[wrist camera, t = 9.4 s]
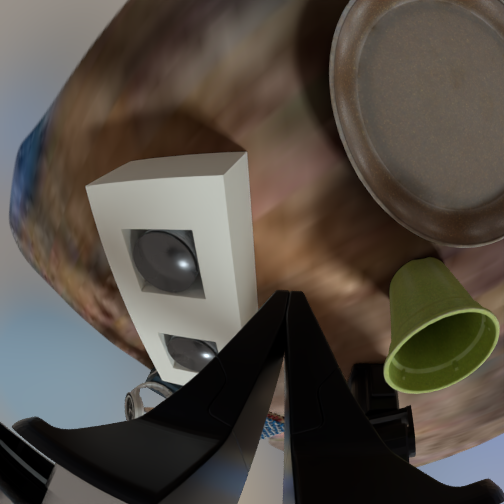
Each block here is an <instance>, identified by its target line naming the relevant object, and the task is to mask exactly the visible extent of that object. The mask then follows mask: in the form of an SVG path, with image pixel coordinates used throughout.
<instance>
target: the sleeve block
mask: <svg viewBox="0 0 504 504" xmlns="http://www.w3.org/2000/svg"><path fill="white" fill-rule="evenodd" d="M85 187H86V191H87V195H88V198H89V202H90V206H91V209H92V213H93V216H94V219H95V223H96V226H97V229H98V232H99V235H100V239H101V242H102V245H103V248H104V250H105V253H106V256H107V259H108V262H109V264H110V267H111V270H112V273H113V275H114V278H115V280H116V283H117V285H118V288H119V290H120V293H121V295H122V298H123V300H124V303H125V305H126V307H127V310H128V312H129V314H130V316H131V319H132V321H133V323H134V325H135V327H136V330H137V332H138V334H139V336H140V338H141V340H142V342H143V344H144V346H145V348H146V350H147V352H148V354H149V356H150V358H151V360H152V362H153V364H154V366H155V368H156V370H157V371H158V373H159V375H160V377H161V379H162V381H166V382H170V383H174V384H179V385H183V386H184V385H185V384H186V383H187V382H188V381H190V380H191V379H192V378H193V377H194V376H196V375H197V374H198V373H199V372H198V371H193V370H190V369H188V368H185V367H184V366H182V365H180V364H179V363H177V362H176V361H175V360H174V359H173V358H172V357H171V356H170V354H169V352H168V349H167V346H168V343H169V341H170V340H171V338H172V336H173V335H175V336H180V337H186V338H193V339H199V340H206V341H213V342H216V345H217V349H218V353H219V352H220V351H221V350H222V349H223V348H224V347H225V345H226V344H227V343H228V342H229V341H230V340H231V339H232V338H233V337H234V336H235V335H236V334H237V333H238V332H239V331H240V330H241V328H242V327H243V326H244V325H245V324H246V323H247V322H248V321H249V320H250V319H251V318H252V317H253V315H254V314H255V313H256V312H257V311H258V299H257V284H256V270H255V256H254V242H253V228H252V214H251V200H250V186H249V172H248V158H247V152H223V153H205V154H192V155H180V156H169V157H160V158H151V159H143V160H135V161H130V162H128V163H126V164H124V165H122V166H120V167H118V168H117V169H115V170H113V171H111V172H109V173H107V174H106V175H104V176H102V177H100V178H98V179H97V180H95V181H93V182H91V183H90V184H88V185H86V186H85ZM148 229H166V230H192V231H193V237H194V242H195V248H196V253H197V258H198V263H199V268H200V272H199V273H198V275H197V277H196V279H195V280H194V282H193V284H192V285H191V286H190V287H189V288H188V289H186V290H184V291H182V292H167V291H163V290H161V289H158V288H156V287H155V286H153V285H151V284H150V283H149V282H148V281H146V280H145V279H144V278H143V276H142V275H141V274H140V272H139V271H138V269H137V267H136V265H135V262H134V258H133V249H134V246H135V244H136V242H137V241H138V239H139V238H140V237H141V236H142V235H143V234H144V233H145V232H146V231H147V230H148Z"/></svg>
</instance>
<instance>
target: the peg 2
mask: <svg viewBox="0 0 504 504" xmlns="http://www.w3.org/2000/svg"><path fill="white" fill-rule="evenodd" d="M167 349H168V352H169V354H170V356H171V357H172V358H173V359H174V360H175V361H176V362H177V363H179V364H180V365H182V366H184V367H185V368H188V369H190V370H193V371H198V372H200V371H201V370H202V369H203V368H204V367H205V366H206V365H207V364H208V363H209V362H210V361H211V360H212V359H213V358H214V357H216V355H217V354H218V349H217V345H216V342H213V341H206V340H199V339H193V338H186V337H180V336H175V335H173V336H172V338H171V340H170V341H169V343H168V346H167Z"/></svg>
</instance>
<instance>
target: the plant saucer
mask: <svg viewBox="0 0 504 504" xmlns="http://www.w3.org/2000/svg"><path fill="white" fill-rule="evenodd" d="M329 86H330V96H331V104H332V109H333V114H334V118H335V122H336V125H337V129H338V132H339V135H340V138H341V141H342V143H343V146H344V149H345V151H346V153H347V155H348V158H349V160H350V162H351V164H352V166H353V168H354V170H355V171H356V173H357V175H358V177H359V179H360V180H361V182H362V183H363V185H364V186H365V187H366V189H367V190H368V192H369V193H370V194H371V196H372V197H373V198H374V199H375V201H376V202H377V203H378V204H379V205H380V206H381V207H382V208H383V209H384V210H385V211H386V212H387V213H388V214H389V215H390V216H391V217H392V218H393V219H394V220H395V221H397V222H398V223H399V224H400V225H402V226H403V227H405V228H406V229H408V230H409V231H411V232H412V233H414V234H416V235H418V236H420V237H422V238H424V239H426V240H428V241H431V242H433V243H436V244H440V245H443V246H449V247H457V248H470V247H479V246H484V245H488V244H491V243H494V242H497V241H499V240H501V239H503V238H504V1H503V0H350V1H349V3H348V4H347V5H346V7H345V9H344V11H343V12H342V14H341V17H340V19H339V21H338V24H337V27H336V29H335V32H334V36H333V40H332V45H331V52H330V63H329Z"/></svg>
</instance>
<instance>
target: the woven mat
mask: <svg viewBox="0 0 504 504" xmlns="http://www.w3.org/2000/svg"><path fill="white" fill-rule="evenodd" d="M277 418H278V419H277ZM280 431H281V432H284V418H283V417H280V416H278V415H275V414H272V413H270V412H268V415H267V418H266V421H265V425H264V428H263V431H262V434H261V437H260V439H264V438H265V439H266V436H267V437H271V436H273V435H276V434H281V432H280Z"/></svg>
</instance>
